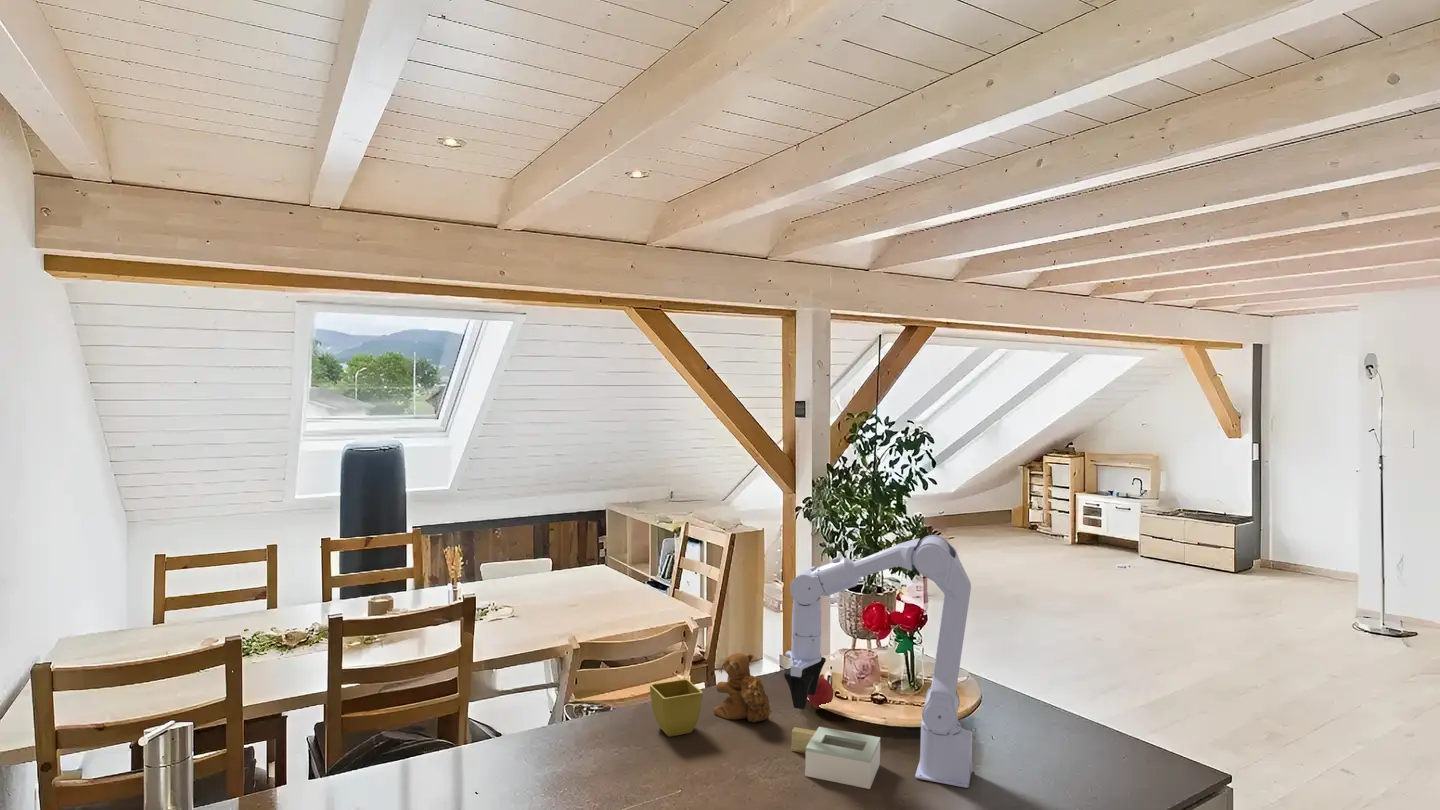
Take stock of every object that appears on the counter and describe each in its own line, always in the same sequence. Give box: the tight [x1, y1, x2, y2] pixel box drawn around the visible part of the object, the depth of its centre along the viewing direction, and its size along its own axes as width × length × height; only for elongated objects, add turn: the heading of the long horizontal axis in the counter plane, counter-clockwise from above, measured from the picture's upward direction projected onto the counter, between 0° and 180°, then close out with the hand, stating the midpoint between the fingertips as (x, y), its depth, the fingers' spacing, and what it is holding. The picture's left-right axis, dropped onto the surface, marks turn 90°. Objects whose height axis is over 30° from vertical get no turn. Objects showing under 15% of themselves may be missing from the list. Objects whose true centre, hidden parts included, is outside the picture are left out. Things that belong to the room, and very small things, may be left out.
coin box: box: [804, 726, 881, 790], centre depth 151 cm, size 12×10×5 cm
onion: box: [807, 673, 834, 710], centre depth 179 cm, size 6×6×8 cm
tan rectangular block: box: [790, 726, 817, 754], centre depth 159 cm, size 4×2×4 cm, turn 69°
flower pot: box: [649, 678, 704, 737], centre depth 167 cm, size 9×9×9 cm
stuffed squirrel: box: [713, 652, 773, 723], centre depth 175 cm, size 10×14×13 cm
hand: (804, 701), depth 159 cm, fingers open, 7 cm apart
